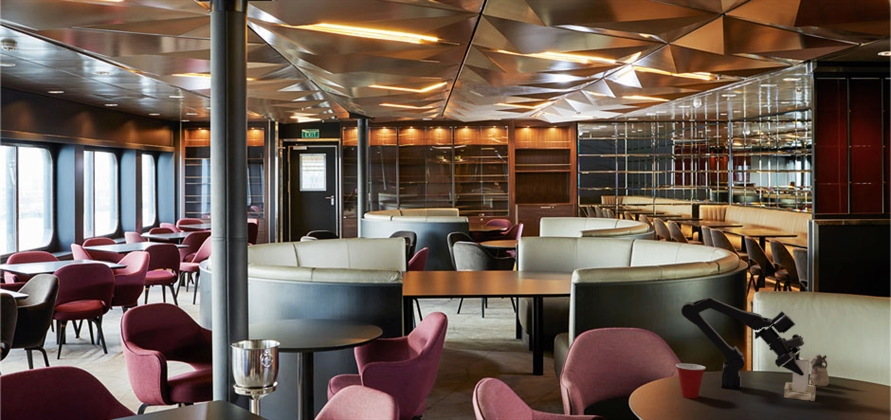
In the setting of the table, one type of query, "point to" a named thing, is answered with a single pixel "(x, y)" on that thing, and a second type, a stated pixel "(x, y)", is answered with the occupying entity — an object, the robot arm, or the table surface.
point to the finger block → (800, 377)
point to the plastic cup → (690, 379)
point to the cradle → (800, 395)
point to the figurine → (819, 371)
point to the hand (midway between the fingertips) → (804, 373)
